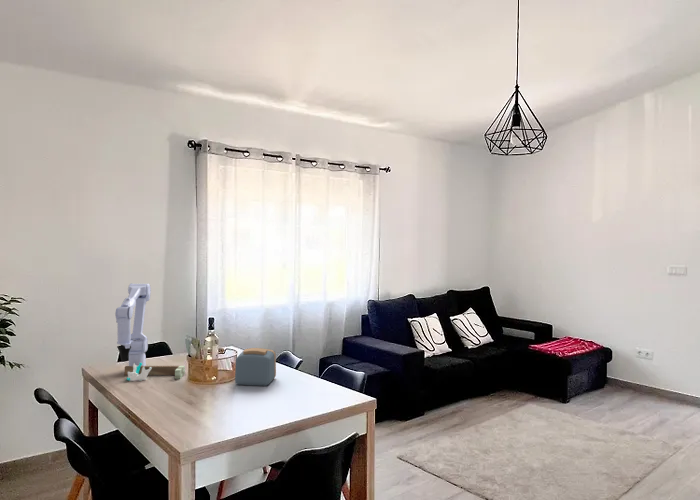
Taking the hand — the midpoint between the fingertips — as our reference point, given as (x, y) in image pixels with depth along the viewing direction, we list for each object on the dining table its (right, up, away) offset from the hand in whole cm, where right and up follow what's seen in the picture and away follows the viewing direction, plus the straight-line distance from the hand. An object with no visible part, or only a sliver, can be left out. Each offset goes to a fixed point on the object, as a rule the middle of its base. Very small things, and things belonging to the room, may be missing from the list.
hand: (124, 361), depth 252 cm
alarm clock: (+62, -10, +1) cm, 63 cm away
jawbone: (+5, -10, +4) cm, 11 cm away
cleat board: (+10, -9, +8) cm, 16 cm away
